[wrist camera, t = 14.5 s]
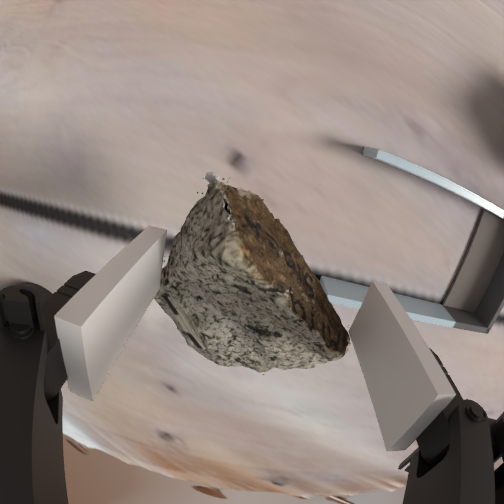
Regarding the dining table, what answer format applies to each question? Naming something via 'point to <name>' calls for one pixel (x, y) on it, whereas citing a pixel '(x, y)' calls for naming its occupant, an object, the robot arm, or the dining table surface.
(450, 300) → the grey open box
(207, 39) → the dining table surface
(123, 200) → the dining table surface
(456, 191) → the strips
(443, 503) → the robot arm
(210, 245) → the rock sample
